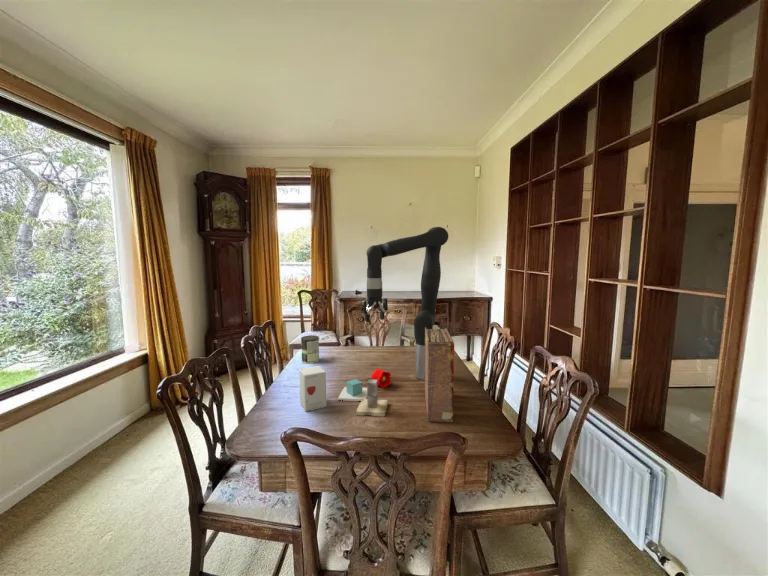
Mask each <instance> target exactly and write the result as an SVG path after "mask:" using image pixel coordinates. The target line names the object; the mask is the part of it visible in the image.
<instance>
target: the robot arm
mask: <svg viewBox="0 0 768 576" xmlns="http://www.w3.org/2000/svg"><path fill="white" fill-rule="evenodd" d="M448 240H449V232H448V231H447V229H445V227H441V226H434V227H431V228H429V229H428V230H427V231H426V232H424V233H421V234H417V235H412V236H407V237H402V238H398V239H392V240H389V241H387V242H385V243H384V242H383V243H380V244H375V245H371V246H369V247H368V248H367V250H366V256H367V258H366V259H367V269H366V298H367V299H366V300H361V311H360V313H362V314H364V319H365V321H366V323H370V321H371V319H370V318H371V316H370V315H371V314H370V313H371V311H373V310H375V309H378V310H379V320H380V321H384V320H385V312H386V311H389V308H388V306H389V304H388V298H385V297H383V278H382V277H383V276H382V272H383V271H382V264H383V263H382V262H383V261H382V260H383V258H387V257H393V256H398V255H401V254H404V253H409V252H412V251H416V250H420V249H422V248H425V252H424V253H425V255H424V260H423V265H422V272H421V281H420V293H421V304H420V305H421V306H420V310H419V313H418V314H417V315H416V316H415V318H414V322H413V331H414V340H415V372H414V374H415V377H416V379H419V380H424V381H425V327H426V329H434V328H433V327H434V325H435V323H436V308H437V307H436V305H437V299H438V295H439V289H440V284H441V275H442V271H441V270H442V269H441V262H440V260H441V259H440V255H441V250H442V246H444V245H445V244H446V243H447V242H448Z"/></svg>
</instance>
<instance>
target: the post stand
mask: <svg viewBox="0 0 768 576" xmlns="http://www.w3.org/2000/svg"><path fill="white" fill-rule="evenodd" d="M366 384H367V385H366V388H367V399H361V402H359V404H358V406H357V409H356V413H355V414H356V416H364V415H369V416H368V417H384V416H385V417H386V412H387V408H388V403H389V402H388V399H379V398H378V386H377V380H372V379H368V380H367V382H366ZM370 415H371V416H370Z"/></svg>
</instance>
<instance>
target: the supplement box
mask: <svg viewBox="0 0 768 576" xmlns="http://www.w3.org/2000/svg"><path fill="white" fill-rule="evenodd" d="M299 402H300V405H301V406H302V408H303V410H304V412H309V410H310V411H313V410H317V409H318V410H319V409H323V408H327V372H326V371H325V369H324V368H323V367H322V366H321V365H316V366H315V365H314V366H310V367H309V366H308V367H303V368H299Z"/></svg>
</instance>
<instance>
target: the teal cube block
mask: <svg viewBox="0 0 768 576" xmlns="http://www.w3.org/2000/svg"><path fill="white" fill-rule="evenodd" d="M345 384H346V386H345V387H347V393H348V394H350V395H351V396H356V395H358V394H361V393H362V388H363V382H362V381H360V380H359V379H357V378H354V379H351V380H347V381H346V383H345Z"/></svg>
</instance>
